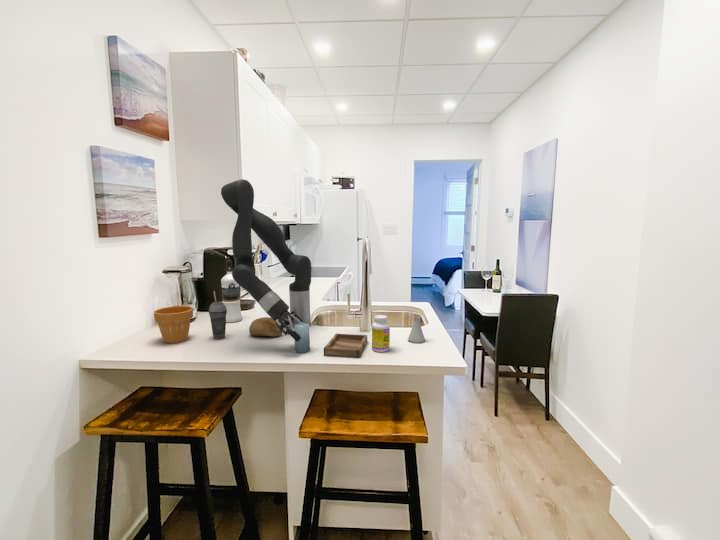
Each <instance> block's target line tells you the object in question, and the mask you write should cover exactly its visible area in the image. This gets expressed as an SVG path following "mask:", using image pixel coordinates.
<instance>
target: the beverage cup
mask: <svg viewBox="0 0 720 540" xmlns="http://www.w3.org/2000/svg"><path fill="white" fill-rule="evenodd" d="M213 298H214V301H213V302H212V303H211V304H210V306H209V308H208V315H209V317H210V323H211V324H210V325H211V332H212V336H213V339H214V340H223V339H225V338H226V326H227V323H226V314H227V308H226V306H225V304H224V303H222V301H220V300H219V301H217V297H216V291H215V290H214V291H213ZM222 338H223V339H222Z"/></svg>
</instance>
